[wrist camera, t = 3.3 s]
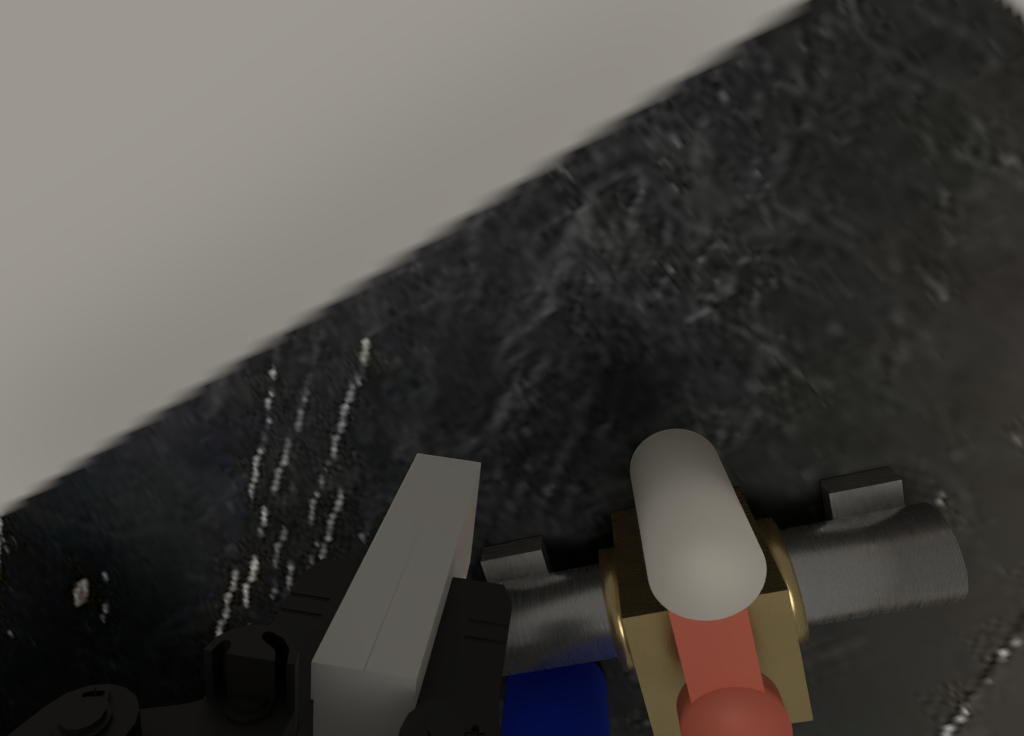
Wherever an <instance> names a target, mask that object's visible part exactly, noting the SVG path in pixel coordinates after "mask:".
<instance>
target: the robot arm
mask: <svg viewBox="0 0 1024 736" xmlns="http://www.w3.org/2000/svg"><path fill="white" fill-rule="evenodd" d="M480 469H481V462H474V461H467V460H460V459H454V458H447V457H440V456H433V455H426V454H420V453H417V455H416V457H415V459H414V461H413V463H412V465H411V467H410V469H409V471H408V473H407V475H406V477H405V479H404V481H403V482H402V484H401V486H400V488H399V490H398V492H397V494H396V496H395V498H394V500H393V502H392V504H391V506H390V508H389V510H388V512H387V514H386V516H385V518H384V520H383V522H382V524H381V526H380V528H379V530H378V532H377V534H376V536H375V538H374V540H373V542H372V543H371V545H370V547H369V549H368V551H367V553H366V555H365V557H364V559H363V561H362V563H361V564H356V563H350V562H343V561H337V560H331V559H324V558H323V559H322V560H321V561H319V562H318V563H316V564H315V565H314V566H312V567H311V568H309V569H308V570H307V571H305V572H304V573H303V574H302V575H301V577H300V578H299V580H298V582H297V583H296V585H295V586H294V588H293V589H292V591H291V594H290V596H288V597H287V599H286V601H285V602H284V604H283V605H282V607H281V610H280V612H278V613H277V615H276V616H275V618H274V620H273V621H272V623H271V624H270V625H268V624H250V625H246V626H242V627H237V628H233V629H231V630H229V631H227V632H225V633H223V634H221V635H219V636H217V637H216V638H215V639H214V640H213V641H211V642H210V643H209V644H208V645H207V646H206V647H205V648H204V649H203V657H204V677H205V697H204V698H203V699H201V700H198V701H195V702H191V703H186V704H181V705H173V706H164V707H155V708H145V709H140V708H139V704H138V701H137V697H136V695H135V694H133V693H132V692H131V691H129V690H128V689H127V688H126V687H122V686H118V685H113V684H99V685H89V686H85V687H83V688H80V689H77V690H74V691H71V692H68V693H66V694H64V695H62V696H61V697H59V698H58V699H56V700H54V701H53V702H51V703H49V704H48V705H46V706H45V707H44V708H42V709H41V710H40V711H38V712H37V713H36V714H35V715H33V716H32V717H31V718H29V719H28V720H27V721H26V722H24V723H23V724H22V725H20V726H19V727H18V728H17V729H15V730H14V731H13V732H11V733H10V734H9V735H8V736H502V734H501V731H500V728H499V725H498V717H497V711H498V704H499V697H500V689H501V682H502V675H503V668H504V661H505V654H506V647H507V640H508V632H509V625H510V618H511V611H512V602H511V600H510V598H509V595H508V593H507V590H506V588H505V586H504V585H502V584H496V583H489V582H483V581H476V580H470V579H466V576H467V572H468V568H469V564H470V559H471V550H472V541H473V532H474V523H475V514H476V505H477V496H478V487H479V478H480Z"/></svg>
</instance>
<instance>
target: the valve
mask: <svg viewBox="0 0 1024 736" xmlns="http://www.w3.org/2000/svg"><path fill="white" fill-rule="evenodd" d="M820 486H821V492H822V499H823V505H824V511H825V517H826V521H823V522H817V523H812V524H807V525H801V526H796V527H791V528H785V529H780V530H779V529H778V527H777V525H776V523H775V522H774V520H773V519H772V518H771V517H767V518H762V519H756V520H755V519H754V517H753V514H752V512H751V510H750V508H749V506H748V504H747V502H746V500H745V498H744V496H743V494H742V492H741V489H740V487H736V488H733V489H734V491H735V493H736V495H737V498H738V500H739V502H740V504H741V506H742V508H743V511H744V513H745V515H746V517H747V519H748V522H749V524H750V526H751V528H752V530H753V532H754V535H755V537H756V539H757V541H758V543H759V545H760V548H761V550H762V552H763V554H764V557H765V560H766V567H767V572H766V579H765V583H764V586H763V588H762V590H761V592H760V594H759V595H758V596H757V598H756V599H755V600H754V601H753V602H752V603H751V604H750V605H749V606H748V607H747V610H748V615H749V620H750V624H751V629H752V634H753V639H754V643H755V648H756V653H757V657H758V662H759V667H760V672H761V673H762V674H764V675H766V676H767V677H768V678H769V679H770V680H771V681H772V682H773V683H774V684H775V685H776V687H777V688H778V690H779V692H780V695H781V698H782V700H783V703H784V706H785V708H786V711H787V714H788V716H789V719H790V722H791V723H797V722H804V721H811V720H813V716H812V711H811V706H810V700H809V695H808V690H807V684H806V679H805V674H804V668H803V663H802V658H801V653H800V647H799V644H802V643H808V640H809V630H808V626H813V625H819V624H825V623H831V622H837V621H844V620H850V619H856V618H862V617H868V616H874V615H880V614H886V613H892V612H898V611H905V610H911V609H917V608H923V607H929V606H935V605H941V604H947V603H953V602H959V601H963V600H965V598H966V597H967V594H968V577H967V571H966V567H965V563H964V559H963V556H962V553H961V551H960V548H959V545H958V543H957V541H956V539H955V536H954V534H953V532H952V530H951V529H950V527H949V525H948V523H947V522H946V520H945V519H944V517H943V516H942V515H941V514H940V512H939V511H938V510H937V509H936V508H935V507H934V506H932V505H931V504H929V503H926V502H923V503H918V504H913V505H907V506H905V503H904V494H903V486H902V479H901V478H900V477H899V476H898V475H897V474H896V473H895V472H894V471H893V470H892V469H891V468H890V467H886V468H881V469H876V470H871V471H866V472H861V473H856V474H851V475H846V476H841V477H836V478H831V479H826V480H821V481H820ZM611 519H612V529H613V538H614V547H611V548H605V549H600V550H599V554H598V557H599V564H595V565H589V566H584V567H579V568H573V569H568V570H563V571H557V572H553V569H552V566H551V562H550V559H549V556H548V553H547V549H546V546H545V543H544V539H543V536H538V537H533V538H528V539H523V540H518V541H513V542H508V543H503V544H498V545H493V546H488V547H483V552H482V556H481V561H480V562H481V565H482V568H483V571H484V574H485V577H486V580H487V582H489V583H496V584H502V585H504V586H505V588H506V590H507V593H508V595H509V598H510V600H511V602H512V611H511V618H510V625H509V632H508V640H507V647H506V654H505V661H504V668H503V675H502V676H508V675H515V674H521V673H527V672H533V671H539V670H545V669H551V668H557V667H563V666H569V665H575V664H582V663H588V662H594V661H600V660H606V659H612V658H618V659H619V662H620V665H621V667H622V669H623V671H624V672H627V671H634V670H636V672H637V676H638V679H639V683H640V686H641V690H642V694H643V697H644V701H645V704H646V708H647V712H648V715H649V719H650V722H651V726H652V729H653V733H654V736H681V731H680V725H679V720H678V714H677V709H676V703H677V698H678V695H679V692H680V690H681V688H682V687H683V686H684V684H685V683H686V680H685V676H684V672H683V668H682V664H681V660H680V656H679V652H678V649H677V645H676V641H675V637H674V633H673V629H672V625H671V621H670V617H669V613H668V609H667V608H665V607H664V606H663V605H662V604H661V603H660V602H659V601H658V600H657V598H656V597H655V596H654V594H653V592H652V590H651V588H650V585H649V581H648V576H647V570H646V564H645V558H644V552H643V546H642V541H641V535H640V529H639V523H638V517H637V511H636V508H631V509H626V510H621V511H616V512H611Z"/></svg>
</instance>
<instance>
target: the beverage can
mask: <svg viewBox="0 0 1024 736" xmlns="http://www.w3.org/2000/svg"><path fill="white" fill-rule="evenodd" d="M501 734H502V736H610V729H609V712H608V696H607V685H606V680H605V677H604V674H603V673H602V671H601V669H600V668H599V667H598V666H597V664H596V663H595V662H588V663H582V664H575V665H569V666H563V667H557V668H551V669H545V670H539V671H533V672H527V673H521V674H515V675H508V678H507V685H506V693H505V701H504V709H503V718H502V726H501Z"/></svg>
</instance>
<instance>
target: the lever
mask: <svg viewBox="0 0 1024 736" xmlns="http://www.w3.org/2000/svg"><path fill="white" fill-rule="evenodd" d="M630 476H631V482H632V488H633V494H634V500H635V506H636V511H637V517H638V523H639V529H640V535H641V541H642V546H643V552H644V558H645V564H646V570H647V576H648V581H649V585H650V588H651V590H652V592H653V594H654V596H655V597H656V598H657V600H658V601H659V602H660V603H661V604H662V605H663V606H664V607H665V608H667V609H668V613H669V617H670V621H671V625H672V629H673V633H674V637H675V641H676V645H677V649H678V652H679V656H680V660H681V664H682V668H683V672H684V676H685V680H686V683H685V684H684V686H683V687H682V688H681V690H680V692H679V695H678V698H677V703H676V709H677V714H678V720H679V725H680V731H681V736H793V731H792V725H791V722H790V719H789V716H788V714H787V711H786V708H785V706H784V703H783V700H782V698H781V695H780V692H779V690H778V688H777V687H776V685H775V684H774V683H773V682H772V681H771V680H770V679H769V678H768V677H767V676H766V675H764V674H762V673H761V672H760V667H759V662H758V657H757V653H756V648H755V643H754V639H753V634H752V629H751V624H750V620H749V615H748V610H747V607H748V606H749V605H750V604H751V603H752V602H753V601H754V600H755V599H756V598H757V596H758V595H759V594H760V592H761V590H762V588H763V586H764V583H765V579H766V572H767V567H766V560H765V557H764V554H763V552H762V550H761V548H760V545H759V543H758V541H757V539H756V537H755V535H754V532H753V530H752V528H751V526H750V524H749V522H748V519H747V517H746V515H745V513H744V511H743V508H742V506H741V504H740V502H739V500H738V498H737V495H736V493H735V491H734V489H733V487H732V485H731V482H730V480H729V478H728V476H727V474H726V472H725V469H724V467H723V465H722V463H721V461H720V459H719V456H718V454H717V452H716V450H715V448H714V447H713V445H712V444H711V443H710V442H709V441H708V440H707V439H706V438H704V437H703V436H701V435H700V434H697V433H695V432H693V431H690V430H685V429H668V430H663V431H660V432H657V433H655V434H653V435H651V436H649V437H648V438H647V439H645V440H644V441H643V442H642V443H641V444H640V445H639V446H638V447H637V449H636V450H635V452H634V454H633V456H632V459H631V463H630Z"/></svg>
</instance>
